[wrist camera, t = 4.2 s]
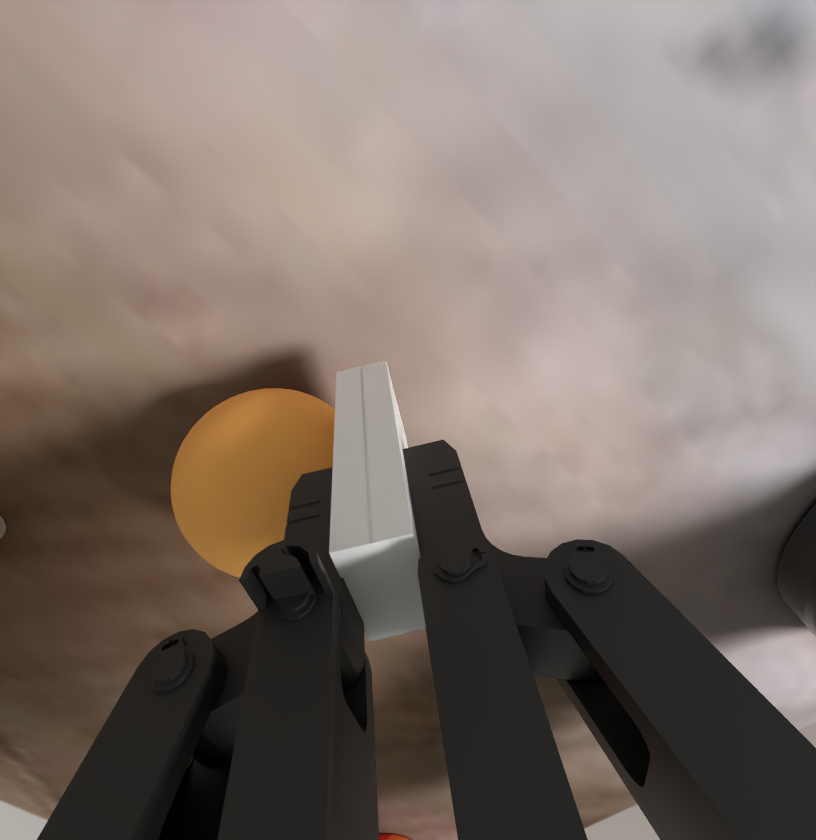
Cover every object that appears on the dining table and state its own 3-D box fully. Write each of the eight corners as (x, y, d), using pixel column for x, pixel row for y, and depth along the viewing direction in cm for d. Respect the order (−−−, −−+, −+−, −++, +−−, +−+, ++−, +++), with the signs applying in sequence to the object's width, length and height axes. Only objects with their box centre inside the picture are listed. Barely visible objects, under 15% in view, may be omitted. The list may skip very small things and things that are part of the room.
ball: (362, 344, 14) (254, 472, 10) (414, 487, 17) (351, 636, 13) (218, 363, 17) (78, 474, 12) (286, 486, 20) (194, 611, 15)
